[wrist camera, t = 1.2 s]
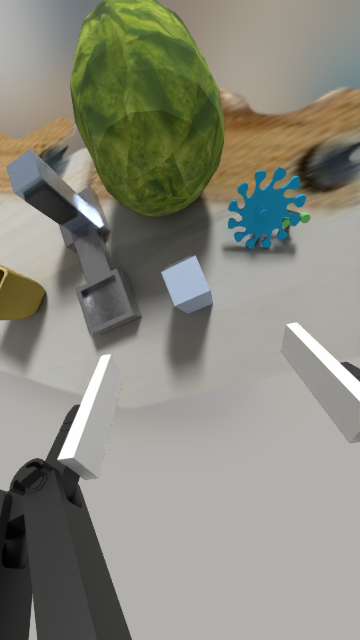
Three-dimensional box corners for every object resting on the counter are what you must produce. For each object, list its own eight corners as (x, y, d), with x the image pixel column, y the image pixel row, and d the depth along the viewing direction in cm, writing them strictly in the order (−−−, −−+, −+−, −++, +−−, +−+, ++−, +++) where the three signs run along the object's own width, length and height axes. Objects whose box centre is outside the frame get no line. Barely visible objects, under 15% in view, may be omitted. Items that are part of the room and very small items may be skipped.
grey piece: (96, 194, 36) (38, 128, 25) (141, 316, 33) (98, 307, 21) (62, 215, 38) (-9, 162, 26) (101, 334, 34) (40, 335, 22)
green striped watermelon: (213, 100, 32) (207, -178, 15) (227, 225, 31) (240, 77, 13) (118, 132, 36) (22, -59, 18) (125, 245, 34) (25, 152, 17)
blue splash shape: (218, 241, 29) (242, 159, 22) (221, 230, 33) (242, 158, 26) (287, 259, 28) (335, 179, 21) (281, 245, 32) (320, 174, 25)
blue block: (200, 275, 31) (192, 249, 21) (213, 303, 30) (210, 290, 20) (176, 286, 32) (158, 266, 22) (188, 314, 31) (174, 306, 21)
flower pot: (26, 270, 39) (-30, 252, 30) (57, 284, 37) (6, 270, 28) (11, 308, 39) (-50, 301, 30) (40, 324, 37) (-14, 322, 28)
